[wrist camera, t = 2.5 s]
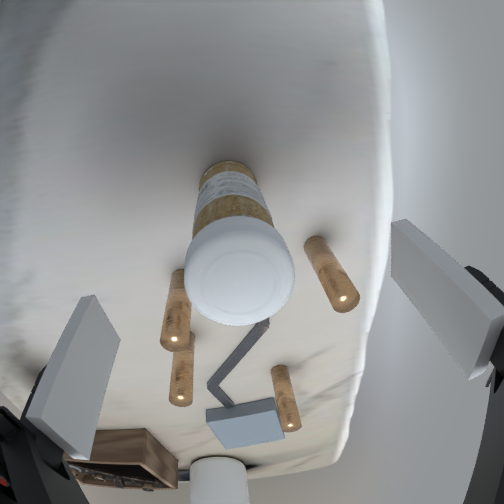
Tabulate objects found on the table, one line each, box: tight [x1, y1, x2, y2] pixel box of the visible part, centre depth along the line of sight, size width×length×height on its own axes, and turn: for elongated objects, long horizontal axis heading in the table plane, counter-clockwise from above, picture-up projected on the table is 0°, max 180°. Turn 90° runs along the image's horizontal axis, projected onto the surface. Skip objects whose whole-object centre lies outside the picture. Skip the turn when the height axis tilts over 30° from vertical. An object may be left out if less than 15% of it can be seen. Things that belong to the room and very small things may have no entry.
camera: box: [67, 461, 163, 491], centre depth 39 cm, size 16×7×8 cm, turn 77°
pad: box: [206, 398, 285, 449], centre depth 39 cm, size 9×9×2 cm
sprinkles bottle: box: [184, 161, 295, 326], centre depth 18 cm, size 5×5×13 cm
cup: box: [190, 457, 250, 504], centre depth 43 cm, size 10×10×10 cm
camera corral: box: [63, 429, 178, 489], centre depth 40 cm, size 13×21×6 cm, turn 102°
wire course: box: [160, 236, 360, 432], centre depth 28 cm, size 23×16×8 cm
